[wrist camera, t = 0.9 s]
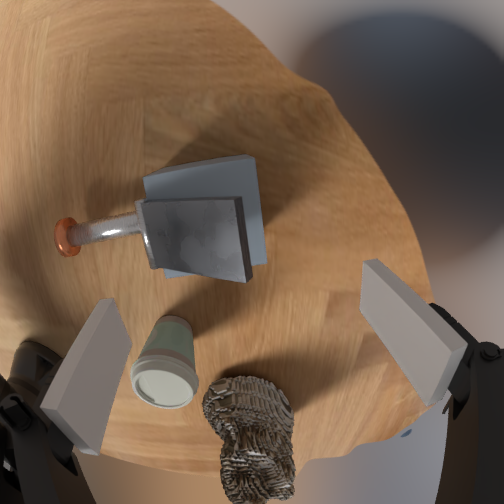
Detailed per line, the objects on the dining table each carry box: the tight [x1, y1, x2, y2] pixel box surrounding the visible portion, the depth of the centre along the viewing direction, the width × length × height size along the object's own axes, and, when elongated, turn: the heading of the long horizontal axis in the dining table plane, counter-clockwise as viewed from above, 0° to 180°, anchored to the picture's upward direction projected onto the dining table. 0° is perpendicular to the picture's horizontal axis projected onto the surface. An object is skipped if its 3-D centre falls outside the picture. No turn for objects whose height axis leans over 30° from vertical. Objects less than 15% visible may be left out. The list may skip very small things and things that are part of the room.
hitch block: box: [143, 154, 267, 279], centre depth 29 cm, size 10×10×9 cm
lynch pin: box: [54, 211, 141, 257], centre depth 29 cm, size 15×5×5 cm, turn 97°
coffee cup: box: [130, 315, 199, 409], centre depth 34 cm, size 8×9×12 cm
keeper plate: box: [134, 196, 253, 283], centre depth 22 cm, size 11×6×1 cm
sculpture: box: [202, 376, 296, 504], centre depth 36 cm, size 20×14×25 cm
